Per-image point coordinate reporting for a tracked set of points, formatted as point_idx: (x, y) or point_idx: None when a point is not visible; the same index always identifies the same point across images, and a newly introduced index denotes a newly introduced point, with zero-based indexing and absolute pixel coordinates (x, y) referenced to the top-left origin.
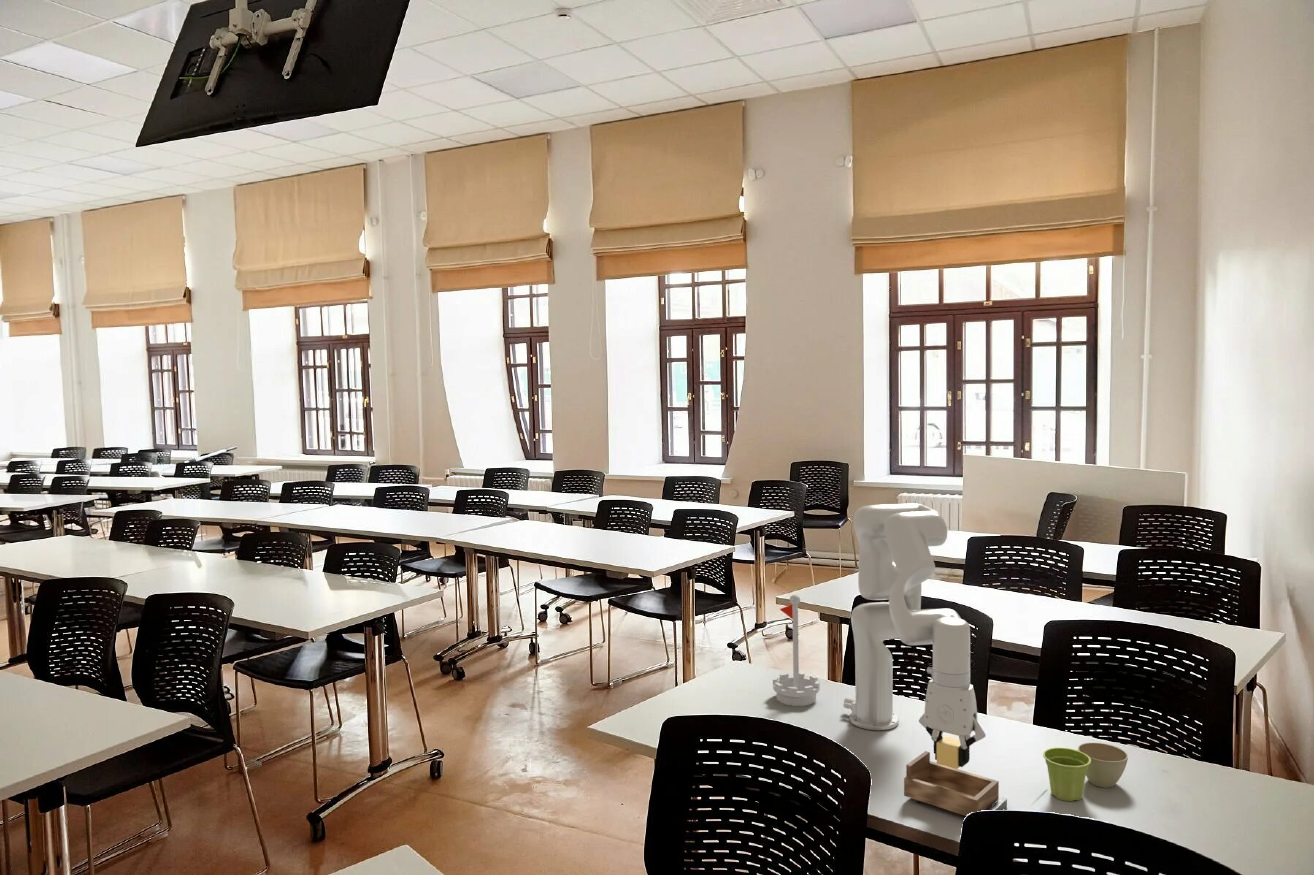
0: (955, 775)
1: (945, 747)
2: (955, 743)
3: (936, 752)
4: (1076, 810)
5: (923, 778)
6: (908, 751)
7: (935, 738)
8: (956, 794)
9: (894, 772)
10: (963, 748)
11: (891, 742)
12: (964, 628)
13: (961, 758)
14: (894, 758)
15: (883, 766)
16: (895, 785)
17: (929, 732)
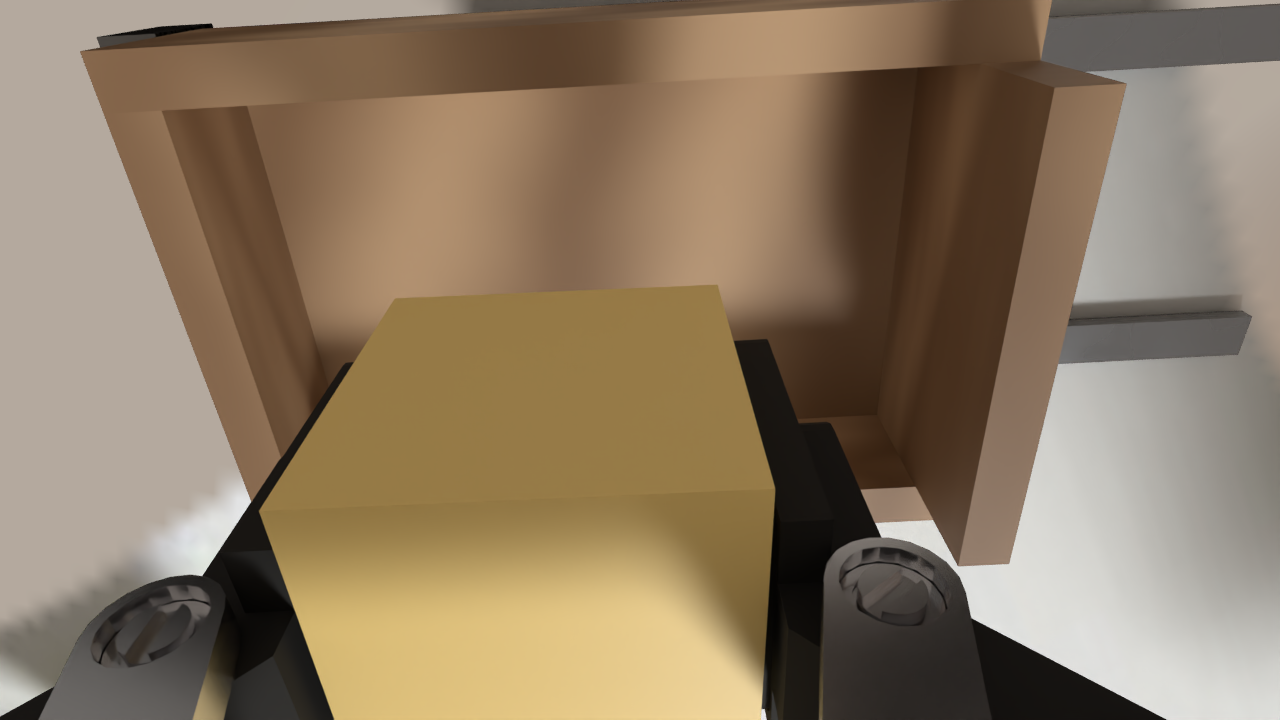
0: None
1: (551, 464)
2: (443, 667)
3: (764, 400)
4: (56, 647)
5: (897, 319)
6: (1146, 676)
7: (859, 601)
8: (338, 35)
9: (1162, 407)
10: (190, 591)
11: (1276, 706)
12: None
13: (302, 438)
14: (1211, 565)
15: (1263, 434)
16: (1100, 235)
17: (1071, 699)
